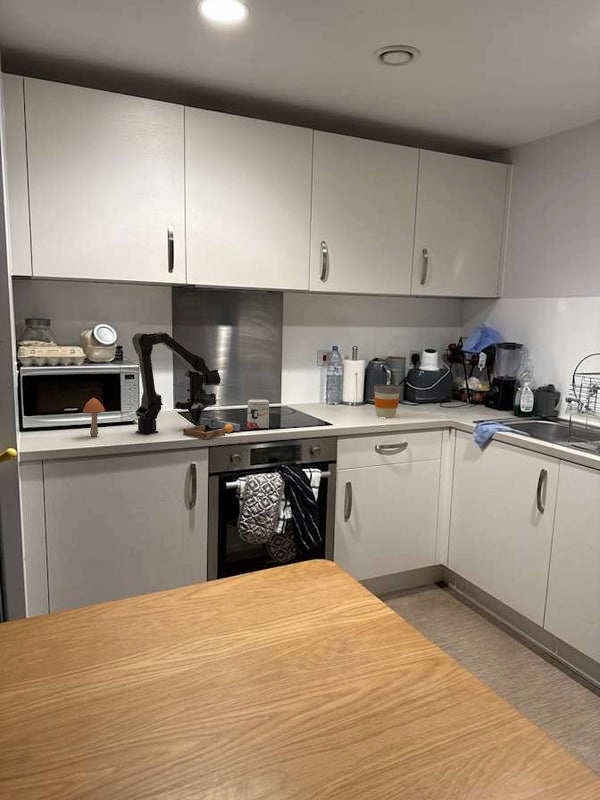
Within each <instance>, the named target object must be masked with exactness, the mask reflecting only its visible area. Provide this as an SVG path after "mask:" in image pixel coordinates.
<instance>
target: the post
mask: <svg viewBox="0 0 600 800" xmlns="http://www.w3.org/2000/svg"><path fill="white" fill-rule="evenodd" d="M209 427H210V429H219V428H218V427H215V421H213V426H208V428H209Z"/></svg>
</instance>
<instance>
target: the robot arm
mask: <svg viewBox="0 0 600 800" xmlns="http://www.w3.org/2000/svg"><path fill="white" fill-rule="evenodd" d="M131 339H132V340H131V342H132V345H133V349H134V351H135V353H136V355H137V356H138V363H139V369H140V371H139V372H140V377H141V384H142V391H143V392H142V395H141V398H140V399H141V401H140V402H141V403H140V406H139V407H138V408H137V409H136V411H135V415H136V417H137V430H136V431H135V433H136V434H139V435H146V436H148V435H152V434H157V433H159V430H157V420H156V419H158V415H159V413H160V412H161V411H162V406H163V401H162V398H163V397H162V395H161V394H158V393H157V392H156V387H155V379H154V371H153V364H152V363H153V362H152V352H153V350H154V349H153V348H154V345H159V344H162V345H163V346H164V347H166V348H167V349H168V350H169V351H171V352H172V353H174V355H176V356H177V357H179V359H181V360H182V362H183V364H184V365H185V366H186V367H187V368H188V369H189V370H187V372H185V374H183V375H184V376H185V377H187V378H188V381H189V382H188V385H189V386H188V388H187V389H186V391H187V392H188V393H189V396H188V397H189V398H186V399H187V400H178V401H176V402H175V404H174V406H175V407H174V408H175V409H177V410H182V411H183V410H184V411H188V412H189V415H190V416H191V418H192V420H193V422H194V424H198V423H199V420H200V418H201V416H202V413H203V411H204V410H205V409H207V408H208V406H211V407H212V406H215V405H217V395H216V393H214V392H213V393H212V392H211V393H210V394H209V393H207V391H206V389H205V388H204V386H205V387H210V386H219V385H221V381H222V380H221V375H220V373H219V369H209V367H207V364H206V361H205V359H204V358H203V357H201V356H199V355H198V354H195V353H193V352H190V351H189V350H187V348H185V347H184V346H183V345H181V344H180V343H179V342H178V341H176V340H175V339H174V338H172V336H170V335H169V334H168V333H167V332H161V331H159V332H154V333H145V332H144V333H143V332H137V333H135V334H134V335H133V336H132V338H131Z"/></svg>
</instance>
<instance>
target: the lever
mask: <svg viewBox="0 0 600 800" xmlns="http://www.w3.org/2000/svg"><path fill="white" fill-rule="evenodd" d="M199 420H200V425H205V426H208V427H209V426H213V421H215V427H218V428H217V429H224V427H225V425H227V424H231V425H232V426H233V431H234V432H240V429H241V427H240V426H241V425H240V424H239V423H236V422H235V423H234V422H228V421H223V420H219V419H218V418H208V417H200V418H199ZM233 431H232V432H233Z"/></svg>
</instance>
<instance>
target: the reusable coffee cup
mask: <svg viewBox="0 0 600 800" xmlns="http://www.w3.org/2000/svg"><path fill="white" fill-rule="evenodd" d="M373 392H374V396H373V397H374V399H373V401H374V406H375V413H376V417H377V416H378V417H377V418H379V417H385V418H384V419H394V418H393V417H395V418H396V415H397V413H396V412H397V409H398V406H399V402H400V397H399V396H400V393H401V386H400V385H395V384H375V385H374V388H373Z"/></svg>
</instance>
